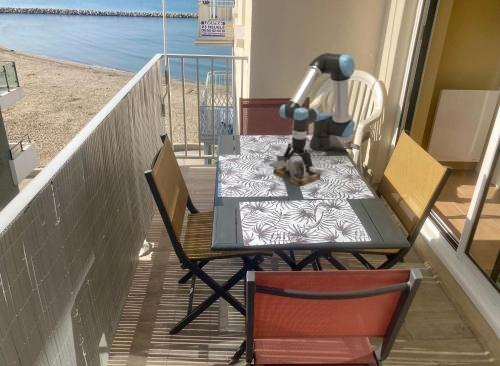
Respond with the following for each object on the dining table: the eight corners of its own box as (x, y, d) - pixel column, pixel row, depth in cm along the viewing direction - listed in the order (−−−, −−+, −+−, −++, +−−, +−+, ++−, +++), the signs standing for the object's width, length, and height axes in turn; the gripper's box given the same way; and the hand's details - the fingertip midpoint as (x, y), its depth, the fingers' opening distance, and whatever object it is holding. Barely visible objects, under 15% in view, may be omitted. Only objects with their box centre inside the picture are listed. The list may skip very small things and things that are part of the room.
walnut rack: (293, 167, 245) (293, 163, 244) (320, 179, 231) (320, 174, 230) (273, 174, 236) (273, 169, 235) (300, 186, 221) (300, 181, 220)
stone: (306, 159, 230) (288, 158, 230) (306, 175, 225) (288, 174, 226) (305, 167, 238) (287, 166, 239) (304, 183, 234) (286, 182, 234)
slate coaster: (282, 161, 255) (282, 160, 255) (294, 166, 247) (294, 165, 247) (268, 165, 249) (268, 164, 248) (281, 170, 241) (281, 169, 241)
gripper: (278, 133, 230) (276, 168, 239) (311, 144, 213) (308, 182, 222) (287, 130, 235) (285, 165, 243) (321, 142, 217) (318, 179, 226)
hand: (296, 173), depth 233 cm, fingers open, 13 cm apart
